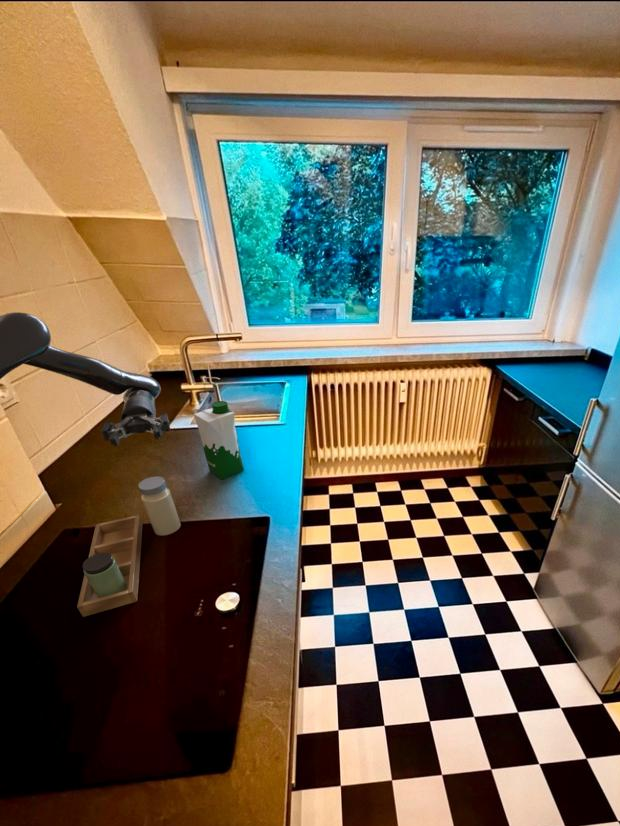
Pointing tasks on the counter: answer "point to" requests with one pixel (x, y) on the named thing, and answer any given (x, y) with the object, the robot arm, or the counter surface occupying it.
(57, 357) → the robot arm
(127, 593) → the jar stand
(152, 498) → the jar
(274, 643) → the counter surface
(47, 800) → the counter surface
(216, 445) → the milk carton
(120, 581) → the spice jar
